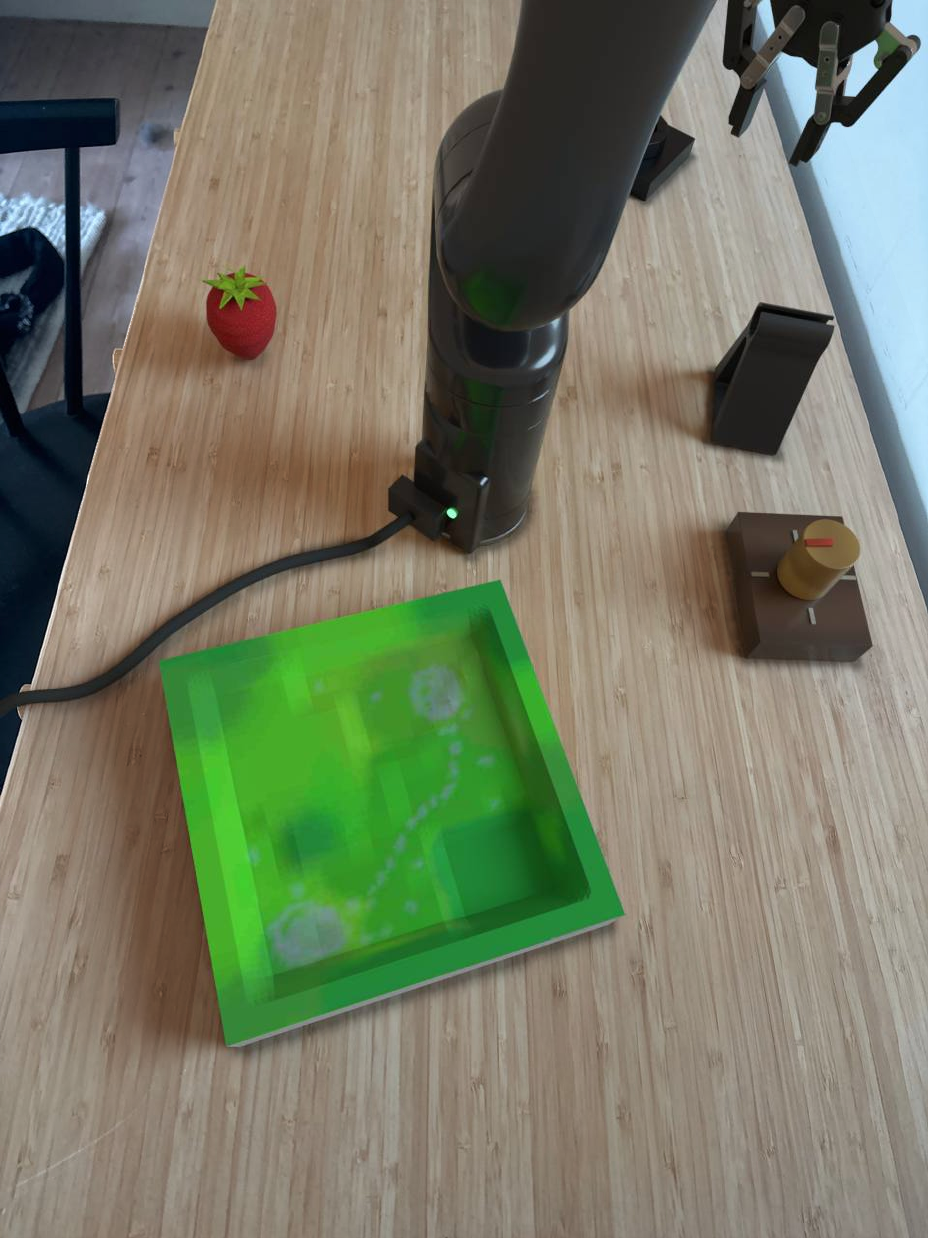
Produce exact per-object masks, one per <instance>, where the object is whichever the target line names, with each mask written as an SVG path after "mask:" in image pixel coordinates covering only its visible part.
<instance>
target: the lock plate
mask: <svg viewBox="0 0 928 1238" xmlns="http://www.w3.org/2000/svg"><path fill="white" fill-rule="evenodd" d="M823 519H828V520H833V521H837V522H839V523H841V524H843V525H845V522H844V518H843V516H840V515H838V516H837V515H819V514H818V515H817V514H798V513H797V514H796V513H795V514H794V513H775V512H774V513H773V512H772V513H771V512H751V511H737V512H736V514H735V516H734V518H733V519H732V520H731V522H730V523H729V525H728V527H727V528H726V529H725V537H726V543H727V548H728V556H729V562H730V568H731V573H732V581H733V586H734V593H735V599H736V602H737V603H736V605H737V610H738V611H737V612H738V616H739V617H738V618H739V622H740V629H741V635H742V642H743V647H744V654H745V659H753V660H755V659H756V660H757V659H759V660H786V661H787V660H788V661H789V660H791V661H816V662H817V661H819V662H821V661H822V662H851V663H853V662H854V663H855V662H856V661H857V660H858V659H860V658H861V657H862V656H863V655H864V654H866V653H867V652H868V651H869V650H871V648H873V646H874V645H873V641H872V640H873V639H872V636H871V632H870V627H869V623H868V619H867V614H866V611H865V606H864V602H863V597H862V593H861V590H860V585H859V581H858V576H857V573H856V570H855V564H854V565H853V566H852V567H851V568H850V569H849V570H848V571H847V573H846V574H845V575H844V576H843V577H842V578H841V579H840V580H839V581H838V582H837V583H836V584H835V585H834V586H833V587H832V588H831V589H830V590H829V591H828V592H827V594H826V595H824V596H823V597H821V598H819V599H815V600H804V599H800V598H797V597H795V596H793V595H791V594H790V593H789V592H787V591H786V590H785V589H784V588H783V586H782V585H781V583H780V581H779V579H778V576H777V566H778V563H779V561H780V560H781V559H782V557H783V556H784V555H785V554H786V552H787V551H788V550H789V549H790V547H791V546H792V545H793V544H794V542H795V541H796V540H797V539H798V537H799V536H800V535H801V533H802V532H803V531H804V530H805V528H806V527H807V526H808V525H809V524H811V523H812V522H814V521H817V520H823Z"/></svg>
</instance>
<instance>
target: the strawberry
mask: <svg viewBox="0 0 928 1238" xmlns="http://www.w3.org/2000/svg"><path fill="white" fill-rule="evenodd" d="M246 265H247V264H246V263H245V264H244V265H243V266H241V268H240V269H238V271H235V270H233V269H231V268H229V267H227V266H226V265H224V264H223V265H222V267H223V268H225V269H227V270H229V271H231V272H232V273H228V274H226V275H225V274H222V273H220V272H217V276H218V277H219V278H220V279H202V283H204V284H207V285H209V286H211V289H210V290H209V291H208V294H207V296H206V302H205V309H206V322H207V325H208V328H209V330H210V332H211V333H212V334H213V336H214V338H215V339H216V340H217V342H218V343H219V345H220V346H221V347H222V348H223V349H224V350H225V351H227V352H229V353H230V354H233V355H235V356H237V357H238V358H242V359H245V360H246V359H247V360H250V361H253V360H256V359H257V358H258V357H259V356H260V355H262V353H263V352H264V351H265V350H266V348H267V347H268V345H269V344H270V343H271V341H272V339H273V336H274V334H275V328H276V322H277V315H278V310H277V303H276V300H275V299H274V296H273V293H272V291H271V289H270V287H269V286H268V283H267V282H265V281H264V280H263V278H264V277H263V276H257V275H254V274H251V273H248V272H246Z"/></svg>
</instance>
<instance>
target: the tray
mask: <svg viewBox="0 0 928 1238" xmlns="http://www.w3.org/2000/svg"><path fill="white" fill-rule="evenodd" d="M158 664H159V668H160V675H161V682H162V687H163V693H164V698H165V703H166V709H167V716H168V720H169V727H170V733H171V738H172V744H173V750H174V755H175V759H176V760H175V762H176V767H177V772H178V778H179V784H180V790H181V796H182V801H183V807H184V812H185V819H186V824H187V829H188V835H189V841H190V847H191V852H192V858H193V864H194V865H193V866H194V869H195V875H196V882H197V886H198V892H199V897H200V898H199V900H200V904H201V910H202V916H203V922H204V929H205V933H206V939H207V944H208V951H209V956H210V961H211V967H212V972H213V973H212V974H213V978H214V984H215V985H214V986H215V990H216V995H217V996H216V997H217V1001H218V1008H219V1013H220V1018H221V1024H222V1025H221V1026H222V1029H223V1031H222V1032H223V1036H224V1042H225V1046H226V1047H230V1048H231V1047H232V1048H241V1047H244V1046H247V1045H249V1044H252V1043H257V1042H259V1041H262V1040H265V1039H268V1038H271V1037H274V1036H277V1035H280V1034H283V1033H286V1032H289V1031H292V1030H295V1029H298V1028H301V1027H305V1026H307V1025H310V1024H313V1023H316V1022H319V1021H322V1020H325V1019H328V1018H331V1017H334V1016H337V1015H340V1014H343V1013H346V1012H349V1011H352V1010H355V1009H359V1008H362V1007H364V1006H367V1005H370V1004H374V1003H376V1002H379V1001H383V1000H385V999H389V998H392V997H395V996H397V995H401V994H404V993H407V992H410V991H413V990H415V989H419V988H421V987H425V986H427V985H431V984H435V983H436V982H440V981H443V980H445V979H449V978H452V977H455V976H458V975H461V974H464V973H468V972H470V971H474V970H477V969H479V968H482V967H485V966H489V965H491V964H494V963H498V962H500V961H502V960H503V961H504V960H506V959H510V958H512V957H516V956H519V955H521V954H525V953H528V952H530V951H533V950H536V949H539V948H543V947H546V946H548V945H552V944H555V943H558V942H560V941H564V940H567V939H570V938H574V937H576V936H579V935H582V934H585V933H588V932H591V931H594V930H597V929H600V928H602V927H603V928H604V927H606V926H608V925H610V924H612V923H614V922H615V921H617V920H619V919H620V918H623V917H624V916H626V912H625V909H624V907H623V903H622V901H621V899H620V896H619V893H618V891H617V890H618V889H617V888H616V885H615V882H614V880H613V876H612V874H611V872H610V870H609V869H610V868H609V867H608V863H607V860H606V858H605V856H604V853H603V851H602V847H601V845H600V842H599V840H598V836H597V834H596V831H595V829H594V827H593V824H592V821H591V818H590V815H589V812H588V810H587V807H586V805H585V803H584V799H583V797H582V794H581V791H580V789H579V788H580V787H579V786H578V783H577V781H576V778H575V776H574V772H573V769H572V767H571V765H570V761H569V759H568V756H567V753H566V751H565V748H564V746H563V743H562V740H561V737H560V735H559V732H558V729H557V727H556V724H555V721H554V719H553V716H552V714H551V711H550V708H549V705H548V703H547V700H546V697H545V695H544V692H543V690H542V689H543V688H542V686H541V683H540V681H539V679H538V676H537V673H536V671H535V667H534V665H533V663H532V659H531V657H530V654H529V651H528V649H527V646H526V643H525V641H524V639H523V636H522V633H521V630H520V627H519V625H518V622H517V619H516V617H515V614H514V611H513V608H512V607H511V604H510V601H509V598H508V595H507V593H506V589H505V587H504V584H503V582H502V579H497V580H492V581H487V582H483V583H479V584H476V585H472V586H471V585H470V586H467V587H463V588H459V589H458V588H457V589H453V590H451V591H446V592H442V593H438V594H435V595H434V594H433V595H430V596H425V597H421V598H416V599H413V600H408V601H404V602H399V603H395V604H391V605H387V606H382V607H378V608H375V609H371V610H367V611H362V612H357V613H353V614H349V615H345V616H341V617H337V618H332V619H328V620H324V621H323V620H322V621H320V622H315V623H311V624H306V625H302V626H299V627H294V628H290V629H286V630H281V631H278V632H277V631H276V632H273V633H269V634H265V635H261V636H257V637H253V638H248V639H244V640H240V641H236V642H235V641H234V642H230V643H227V644H222V645H218V646H214V647H211V648H206V649H201V650H198V651H193V652H190V653H184V654H180V655H176V656H172V657H168V658H164V659H160V660H158Z"/></svg>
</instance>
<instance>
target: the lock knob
mask: <svg viewBox="0 0 928 1238" xmlns="http://www.w3.org/2000/svg"><path fill="white" fill-rule="evenodd" d="M860 555H861V543H860V541H859V539H858V537H857V536H856V534H855V533H854V532H853V531H852V530H851V529H850V528H849V527H848V526H847V525H845V524H844V525H843V524H841V523H839V522H837V521H833V520H828V519H823V520H817V521H814V522H812V523H811V524H809V525H808V526H807V527H806V528H805V530H804V531H803V532H802V533H801V535H800V536H799V537H798V539H797V540H796V541H795V542H794V544H793V545H792V546H791V547H790V549H789V550H788V551H787V552H786V554H785V555H784V556H783V557H782V559H781V560H780V561H779V563H778V566H777V576H778V579H779V581H780V583H781V585H782V586H783V588H784V589H785V590H786V591H787V592H789V593H790V594H791V595H793V596H795V597H797V598H800V599H804V600H815V599H819V598H821V597H823V596H824V595H826V594H827V592H828V591H829V590H830V589H831V588H832V587H833V586H834V585H835V584H836V583H837V582H838V581H839V580H840V579H841V578H842V577H843V576H844V575H845V574H846V573H847V571H848V570H849V569H850V568H851V567H852V566H853V565H854V566H855V564H857V562H858V560H859V559H860Z"/></svg>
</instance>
